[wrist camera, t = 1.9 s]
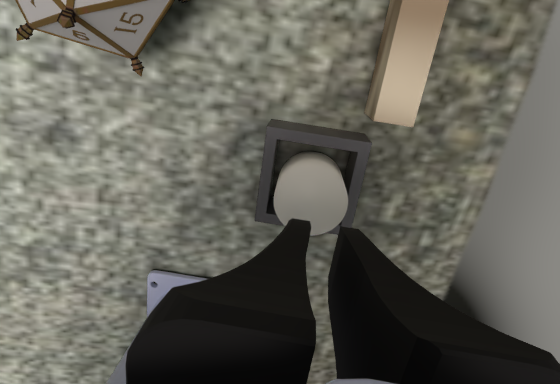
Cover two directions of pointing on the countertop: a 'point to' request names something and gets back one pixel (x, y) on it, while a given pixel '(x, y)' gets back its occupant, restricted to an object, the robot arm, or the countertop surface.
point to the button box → (319, 137)
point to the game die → (97, 23)
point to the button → (311, 192)
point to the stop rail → (404, 60)
